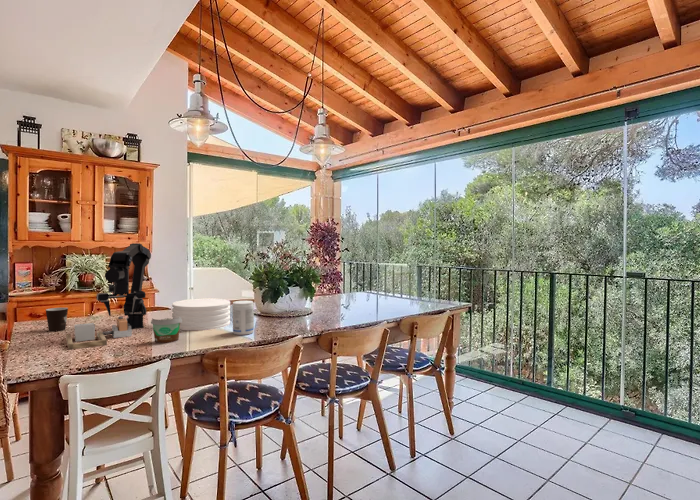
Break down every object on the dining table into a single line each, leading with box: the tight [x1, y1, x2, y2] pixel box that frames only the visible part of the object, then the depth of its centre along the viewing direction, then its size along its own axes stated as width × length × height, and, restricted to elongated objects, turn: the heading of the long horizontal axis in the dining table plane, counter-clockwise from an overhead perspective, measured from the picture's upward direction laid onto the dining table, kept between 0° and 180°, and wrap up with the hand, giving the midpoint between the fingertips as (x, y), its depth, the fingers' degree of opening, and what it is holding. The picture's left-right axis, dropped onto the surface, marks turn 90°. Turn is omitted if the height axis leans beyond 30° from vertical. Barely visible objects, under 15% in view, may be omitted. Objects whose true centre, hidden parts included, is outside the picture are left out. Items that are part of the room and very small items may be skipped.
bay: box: [65, 330, 108, 350], centre depth 175 cm, size 13×20×2 cm, turn 37°
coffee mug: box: [45, 307, 69, 333], centre depth 197 cm, size 12×9×10 cm
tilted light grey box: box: [74, 322, 96, 343], centre depth 180 cm, size 7×7×6 cm
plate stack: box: [171, 297, 231, 331], centre depth 213 cm, size 28×28×12 cm
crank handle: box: [116, 315, 127, 331], centre depth 187 cm, size 3×9×5 cm, turn 37°
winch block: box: [102, 323, 133, 339], centre depth 186 cm, size 11×7×4 cm, turn 127°
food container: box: [150, 317, 182, 344], centre depth 177 cm, size 12×6×10 cm, turn 117°
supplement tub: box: [232, 300, 255, 336], centre depth 195 cm, size 10×10×15 cm
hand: (121, 314), depth 186 cm, fingers open, 9 cm apart
